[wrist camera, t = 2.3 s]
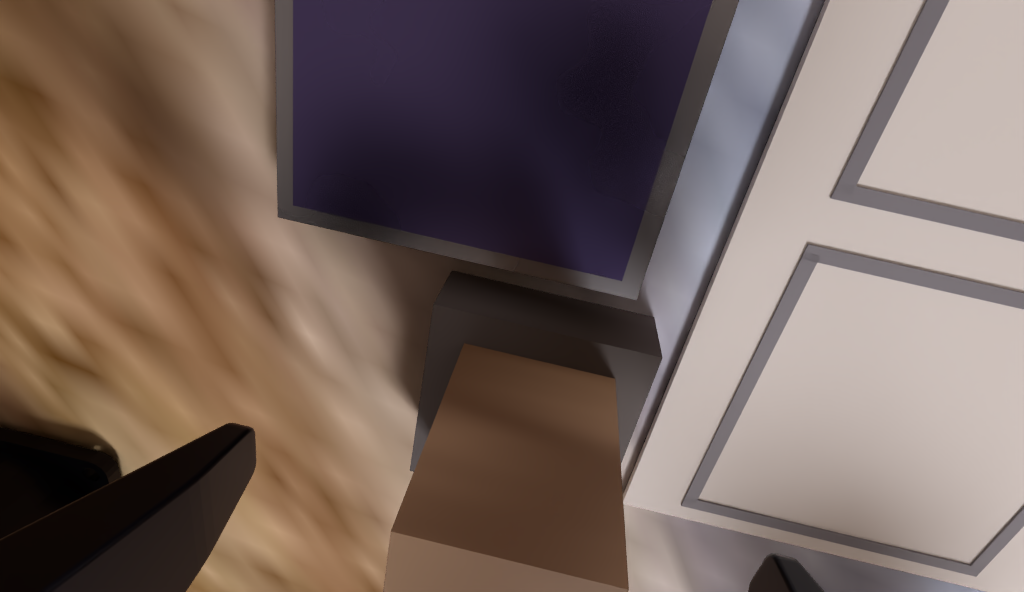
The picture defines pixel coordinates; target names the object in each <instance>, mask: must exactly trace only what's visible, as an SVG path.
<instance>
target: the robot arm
mask: <svg viewBox="0 0 1024 592" xmlns="http://www.w3.org/2000/svg"><path fill="white" fill-rule="evenodd" d="M255 466H256V442H255V431H254V429H253V428H251V427H249V426H244V425H240V424H236V423H228V424H225V425H223V426H221V427H219V428H217V429H215V430H213V431H211V432H209V433H207V434H205V435H204V436H202V437H200V438H198V439H196V440H194V441H192V442H190V443H188V444H186V445H184V446H182V447H180V448H178V449H176V450H174V451H172V452H170V453H168V454H166V455H164V456H162V457H160V458H158V459H156V460H155V461H153V462H151V463H149V464H147V465H145V466H143V467H141V468H139V469H137V470H135V471H133V472H131V473H129V474H127V475H125V476H123V477H121V476H120V471H119V467H118V465H117V463H116V462H115V461H114V460H113V459H112V458H111V457H110V456H108V455H107V454H105V453H102V452H100V451H96V450H92V449H87V448H83V447H79V446H75V445H71V444H67V443H63V442H59V441H55V440H51V439H47V438H42V437H38V436H34V435H30V434H26V433H22V432H18V431H14V430H10V429H6V428H2V427H0V592H186V590H187V589H188V587H189V586H190V584H191V583H192V581H193V580H194V578H195V577H196V576H197V574H198V573H199V571H200V569H201V568H202V566H203V565H204V563H205V562H206V560H207V558H208V557H209V555H210V553H211V551H212V550H213V548H214V546H215V544H216V543H217V541H218V539H219V537H220V535H221V533H222V531H223V529H224V528H225V526H226V524H227V522H228V520H229V518H230V516H231V514H232V513H233V511H234V509H235V507H236V505H237V503H238V501H239V499H240V498H241V496H242V494H243V492H244V490H245V488H246V486H247V484H248V483H249V481H250V479H251V477H252V475H253V473H254V470H255ZM748 592H824V591H823V590H822V588H821V587H820V586H819V585H818V584H817V583H816V581H815V580H814V579H813V578H812V577H811V576H810V574H809V573H808V572H807V571H806V570H805V568H804V567H803V566H802V565H801V564H800V563H799V562H798V561H797V560H796V559H794V558H791V557H787V556H783V555H779V554H770V555H768V556H767V557H766V558H765V560H764V561H763V563H762V565H761V566H760V568H759V569H758V571H757V572H756V574H755V576H754V577H753V579H752V580H751V582H750V585H749V590H748Z"/></svg>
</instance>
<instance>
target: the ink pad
mask: <svg viewBox="0 0 1024 592" xmlns="http://www.w3.org/2000/svg"><path fill="white" fill-rule="evenodd" d="M738 2H739V0H275V47H276V123H277V199H278V217H279V218H283V219H288V220H292V221H296V222H301V223H305V224H309V225H314V226H318V227H322V228H327V229H331V230H335V231H340V232H344V233H348V234H353V235H357V236H361V237H366V238H370V239H374V240H379V241H383V242H387V243H392V244H396V245H400V246H405V247H409V248H413V249H418V250H422V251H426V252H431V253H435V254H439V255H443V256H448V257H452V258H456V259H461V260H465V261H469V262H474V263H478V264H482V265H487V266H491V267H495V268H500V269H504V270H508V271H513V272H517V273H521V274H526V275H530V276H534V277H539V278H543V279H547V280H552V281H556V282H560V283H565V284H569V285H573V286H578V287H582V288H586V289H591V290H595V291H599V292H604V293H608V294H612V295H617V296H621V297H625V298H629V299H634V300H637V297H638V294H639V291H640V288H641V285H642V282H643V279H644V276H645V273H646V270H647V268H648V265H649V262H650V259H651V256H652V253H653V250H654V247H655V244H656V241H657V238H658V235H659V233H660V230H661V227H662V224H663V221H664V218H665V215H666V212H667V209H668V206H669V203H670V200H671V198H672V195H673V192H674V189H675V186H676V183H677V180H678V177H679V174H680V171H681V168H682V166H683V163H684V160H685V157H686V154H687V151H688V148H689V145H690V142H691V139H692V136H693V133H694V131H695V128H696V125H697V122H698V119H699V116H700V113H701V110H702V107H703V104H704V101H705V98H706V96H707V93H708V90H709V87H710V84H711V81H712V78H713V75H714V72H715V69H716V66H717V63H718V61H719V58H720V55H721V52H722V49H723V46H724V43H725V40H726V37H727V34H728V31H729V28H730V26H731V23H732V20H733V17H734V14H735V11H736V8H737V5H738Z"/></svg>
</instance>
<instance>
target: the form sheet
mask: <svg viewBox="0 0 1024 592" xmlns="http://www.w3.org/2000/svg"><path fill="white" fill-rule="evenodd" d="M623 504H625V505H629V506H633V507H637V508H641V509H646V510H650V511H654V512H658V513H662V514H666V515H670V516H675V517H679V518H683V519H687V520H691V521H695V522H699V523H704V524H708V525H712V526H716V527H720V528H724V529H729V530H733V531H737V532H741V533H745V534H749V535H753V536H758V537H762V538H766V539H770V540H774V541H778V542H782V543H787V544H791V545H795V546H799V547H803V548H807V549H812V550H816V551H820V552H824V553H828V554H832V555H836V556H841V557H845V558H849V559H853V560H857V561H861V562H865V563H870V564H874V565H878V566H882V567H886V568H890V569H895V570H899V571H903V572H907V573H911V574H915V575H919V576H924V577H928V578H932V579H936V580H940V581H944V582H948V583H953V584H957V585H961V586H965V587H969V588H973V589H978V590H982V591H986V592H1024V0H825V2H824V5H823V7H822V10H821V12H820V14H819V17H818V19H817V22H816V24H815V27H814V29H813V32H812V34H811V36H810V39H809V41H808V44H807V46H806V49H805V51H804V54H803V56H802V58H801V61H800V63H799V66H798V68H797V71H796V73H795V76H794V78H793V80H792V83H791V85H790V88H789V90H788V93H787V95H786V98H785V100H784V102H783V105H782V107H781V110H780V112H779V115H778V117H777V120H776V122H775V124H774V127H773V129H772V132H771V134H770V137H769V139H768V142H767V144H766V147H765V149H764V151H763V154H762V156H761V159H760V161H759V164H758V166H757V169H756V171H755V173H754V176H753V178H752V181H751V183H750V186H749V188H748V191H747V193H746V195H745V198H744V200H743V203H742V205H741V208H740V210H739V213H738V215H737V217H736V220H735V222H734V225H733V227H732V230H731V232H730V235H729V237H728V239H727V242H726V244H725V247H724V249H723V252H722V254H721V257H720V259H719V261H718V264H717V266H716V269H715V271H714V274H713V276H712V279H711V281H710V283H709V286H708V288H707V291H706V293H705V296H704V298H703V301H702V303H701V305H700V308H699V310H698V313H697V315H696V318H695V320H694V323H693V325H692V327H691V330H690V332H689V335H688V337H687V340H686V342H685V345H684V347H683V349H682V352H681V354H680V357H679V359H678V362H677V364H676V367H675V369H674V371H673V374H672V376H671V379H670V381H669V384H668V386H667V389H666V391H665V393H664V396H663V398H662V401H661V403H660V406H659V408H658V411H657V413H656V415H655V418H654V420H653V423H652V425H651V428H650V430H649V433H648V435H647V437H646V440H645V442H644V445H643V447H642V450H641V452H640V455H639V457H638V459H637V462H636V464H635V467H634V469H633V472H632V474H631V477H630V479H629V481H628V484H627V486H626V489H625V491H624V494H623Z"/></svg>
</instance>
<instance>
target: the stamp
mask: <svg viewBox="0 0 1024 592" xmlns="http://www.w3.org/2000/svg"><path fill="white" fill-rule="evenodd" d="M661 360H662V353H661V349H660V344H659V339H658V334H657V329H656V324H655V319H654V317H651V316H646V315H642V314H638V313H633V312H629V311H625V310H621V309H616V308H612V307H608V306H603V305H599V304H595V303H590V302H586V301H582V300H577V299H573V298H569V297H565V296H560V295H556V294H552V293H547V292H543V291H539V290H534V289H530V288H526V287H521V286H517V285H513V284H509V283H504V282H500V281H496V280H491V279H487V278H483V277H478V276H474V275H470V274H465V273H461V272H457V271H451V273H450V275H449V277H448V279H447V280H446V282H445V284H444V286H443V288H442V290H441V291H440V293H439V295H438V297H437V299H436V301H435V302H434V304H433V311H432V318H431V325H430V332H429V339H428V346H427V354H426V361H425V368H424V375H423V382H422V389H421V396H420V403H419V410H418V417H417V424H416V431H415V438H414V445H413V452H412V459H411V466H410V471H413V472H414V473H413V476H412V478H411V481H410V484H409V486H408V489H407V491H406V494H405V496H404V499H403V502H402V504H401V507H400V509H399V512H398V514H397V517H396V520H395V522H394V525H393V527H392V530H391V535H390V542H389V550H388V558H387V566H386V573H385V581H384V589H383V592H628V590H629V587H628V571H627V555H626V540H625V524H624V508H623V493H622V477H621V462H622V460H623V457H624V455H625V452H626V449H627V447H628V444H629V442H630V439H631V437H632V434H633V432H634V429H635V426H636V424H637V421H638V419H639V416H640V414H641V411H642V409H643V406H644V403H645V401H646V398H647V396H648V393H649V391H650V388H651V386H652V383H653V380H654V378H655V375H656V373H657V370H658V368H659V365H660V363H661Z"/></svg>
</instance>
